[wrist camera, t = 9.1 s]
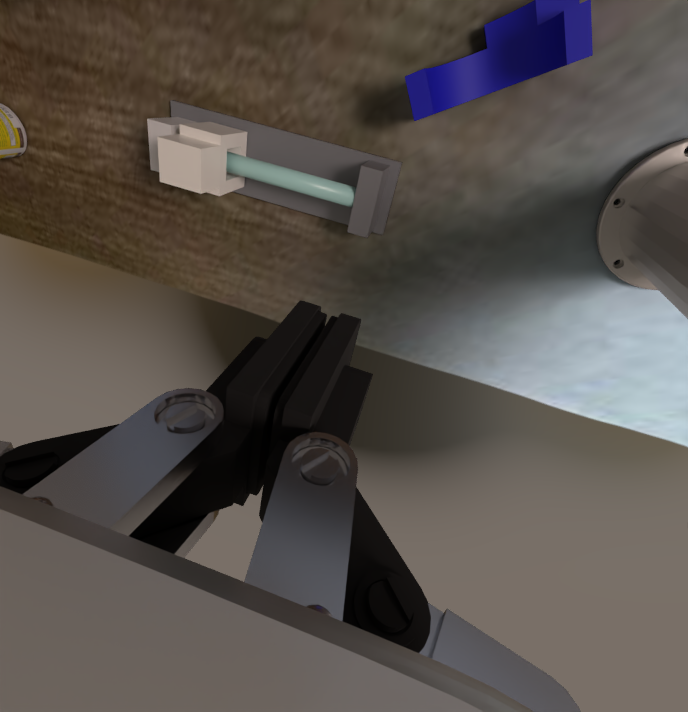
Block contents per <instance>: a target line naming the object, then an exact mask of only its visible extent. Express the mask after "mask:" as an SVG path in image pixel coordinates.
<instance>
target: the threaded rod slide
mask: <svg viewBox="0 0 688 712" xmlns="http://www.w3.org/2000/svg"><path fill="white" fill-rule="evenodd" d="M170 101H171V117H169V118H151V119H147V122H148V137H149V151H150V165H151V170H153V171H157V172H159V158H158V141H157V137H159V136H168V135H176V134H180V125H179V124H187V123H200V122H213V123H217V124H220V125H224V126H228V127H231V128H235V129H239V130H242V131H246V132H247V147H246V156H242V155H239V154H235V153H232V152H228V151H227V164H226V172H229V173H233V174H236V175H240V176H243V177H245V182H244V187H242V188H239V189H237V190H234V191H233V192H236V193H239V194H243V195H246V196H250V197H253V198H257V199H260V200H263V201H267V202H270V203H274V204H277V205H281V206H284V207H288V208H291V209H294V210H298V211H301V212H305V213H308V214H312V215H315V216H318V217H322V218H325V219H329V220H332V221H336V222H339V223H343V224H346V225H349V226H348V231H347V232H348V233H352V234H355V235H358V236H362V237H365V238H367V237H368V236H369V235H370V233H371V232H373V233H377V234H380V235H383V233H384V230H385V226H386V222H387V218H388V215H389V211H390V207H391V203H392V199H393V196H394V192H395V188H396V184H397V180H398V177H399V173H400V169H401V165H402V162H399V161H395V160H392V159H388V158H384V157H381V156H377V155H373V154H370V153H366V152H362V151H359V150H355V149H351V148H347V147H344V146H340V145H336V144H333V143H329V142H325V141H322V140H318V139H314V138H311V137H307V136H303V135H299V134H296V133H292V132H288V131H285V130H281V129H277V128H274V127H270V126H266V125H263V124H259V123H255V122H251V121H248V120H244V119H240V118H237V117H233V116H229V115H226V114H222V113H218V112H215V111H211V110H207V109H203V108H200V107H196V106H192V105H189V104H185V103H181V102H178V101H174V100H170Z"/></svg>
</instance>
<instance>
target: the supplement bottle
mask: <svg viewBox="0 0 688 712" xmlns="http://www.w3.org/2000/svg"><path fill="white" fill-rule="evenodd" d="M26 147H27V136H26V132H25V129H24V127H23V125H22V123H21V121H20V120H19V118H18V117H17V116H16V115H15V114H14V112H13V111H11V110H10V109H9V108H8V107H6V106H5V105H3V104H1V103H0V159H1V158H9V157H16V156H20V155H21V154H23V153H24V152H25V150H26Z"/></svg>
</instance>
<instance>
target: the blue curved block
mask: <svg viewBox="0 0 688 712" xmlns="http://www.w3.org/2000/svg"><path fill="white" fill-rule="evenodd" d="M484 33H485V40H486V48H487V49H484V50H482V51H480V52H477V53H474V54H472V55H469V56H467V57H464V58H461V59H459V60H456V61H453V62H450V63H447V64H444V65H441V66H437V67H433V68H428V69H426V68H424V69H422V70H420V71H417V72H415V73H412V74H410V75H407V76H405V80H406V84H407V89H408V94H409V98H410V103H411V108H412V112H413V117H414V121H416V120H419V119H422V118H424V117H427V116H430V115H433V114H435V113H438V112H441V111H443V110H446V109H449V108H451V107H454V106H457V105H460V104H462V103H465V102H468V101H470V100H473V99H476V98H478V97H481V96H484V95H487V94H489V93H492V92H495V91H497V90H500V89H503V88H505V87H508V86H511V85H514V84H516V83H519V82H522V81H524V80H527V79H530V78H532V77H535V76H538V75H541V74H543V73H546V72H549V71H551V70H554V69H557V68H559V67H562V66H565V65H568V64H570V63H573V62H576V61H578V60H581V59H584V58H586V57H589V56H592V27H591V0H588V1H585V2H583V3H580V4H579V0H534V1H532V2H531V3H529V4H527V5H525V6H523V7H521V8H519V9H517V10H515V11H513V12H511V13H509V14H507V15H505V16H503V17H501V18H499V19H497V20H495V21H492V22H490V23H488V24H486V25H484Z"/></svg>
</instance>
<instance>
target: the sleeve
mask: <svg viewBox="0 0 688 712" xmlns="http://www.w3.org/2000/svg"><path fill="white" fill-rule="evenodd" d="M179 125H180V134H176V135H168V136H159V137H157V141H158V158H159V175H160V182H163V183H166V184H169V185H173V186H176V187H180V188H183V189H186V190H190V191H193V192H197V193H200V194H202V193H205V192H207V193H210V194H214V195H217V196H221V195H224V194H226V193H229V192H232V191H234V190H237V189H239V188H242V187H244V182H245V177H243V176H240V175H236V174H233V173H229V172H226V164H227V151H228V152H232V153H235V154H239V155H242V156H246V147H247V132H246V131H242V130H239V129H235V128H231V127H228V126H224V125H220V124H217V123H213V122H200V123H187V124H179Z"/></svg>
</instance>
